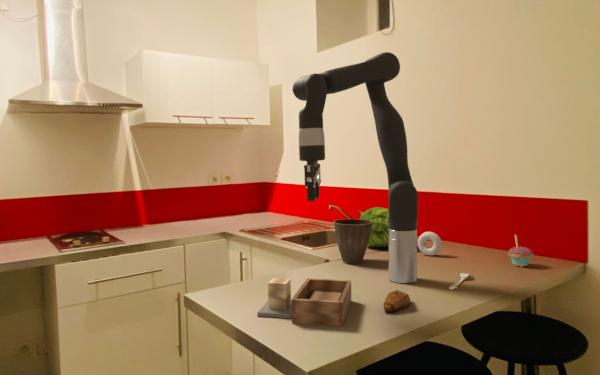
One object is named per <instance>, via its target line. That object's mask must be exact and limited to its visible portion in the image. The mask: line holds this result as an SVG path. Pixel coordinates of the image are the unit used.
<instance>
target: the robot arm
mask: <svg viewBox="0 0 600 375" xmlns="http://www.w3.org/2000/svg"><path fill="white" fill-rule="evenodd" d="M400 71H401V64H400V60H399V58H398V57H397V56H396V54H394V53H392V52H390V51H388V52H387V51H386V52H381V53H379V54H376V55H374V56H372V57H370V58H368V59H366V60H365V61H362V62H358V63H354V64H350V65H346V66H340V67H337V68H336V67H335V68H332V69H331V68H330V69H329V70H325V71H322V72H321V73H310V74H308V75H304V76H299V77H298V78H297V79H296V80H295V81H294V82H293V85H292V93H293V95H294V97H295V98H296V99H297V100H299V101H302V102H305V105H304V107H303V108H302V109H300V110H299V112H298V132H299V133H298V150H299V151H298V152H299V153H298V155H299V161H300V162H306V164H305V165H303V168H304V170H303V171H304V186H305V188H306V196H307V201H308V202H315V200H316V199H320V198H321V194H320V190H321V189H320V186H321V184H322V180H321V179H322V178H321V164H320V163H319V162H318V161H325V159H326V148H325V146H326V145H325V143H326V141H325V132H324V118H323V114H324V109H325V107H326V106H325V105H326V101H327V100H326V99H327V96H328V95H331V94H337V93H341V92H344V91H347V90H350V89H352V88H355V87H357V86H360V85H363V84H364V85H365V87H366V90H367V93H368V97H369V101H370V104H371V109H372V113H373V114H372V115H373V118H374V124H375V131H376V136H377V141H378V145H379V146H378V147H379V149H380V153H381V157H382V159H383V162H384V164H385V168H386V172H387V174H386V175H387V186H388V209H389V246H388V271H387V272H388V273H387V274H388V281H390V282H393V283H399V284H410V283H411V284H412V283H417V282H418V250H417V249H418V239H417V238H418V234H417V233H418V219H419V218H418V216H419V215H418V213H419V212H418V211H419V210H418V208H419V196H418V195H419V193H418V191H417V188H416V187H415V186H414V185H415V184H414V182H413V179H412V175H411V171H410V168H409V162H408V142H407V141H408V140H407V134H406V133H407V132H406V127H405V123H404V120H403V117H402V116H401V114H400V112H399V111H398V110H397V109H396V108H395V107H394V105H393V104H392V103H391V102H390V99H389V97H388V95H387V92H386V86H385V83H387V82H391V81H393V80H394V79H395V78H397V76H398V75H399V74H400Z"/></svg>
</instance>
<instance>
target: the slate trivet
mask: <svg viewBox="0 0 600 375" xmlns="http://www.w3.org/2000/svg"><path fill="white" fill-rule="evenodd" d="M256 313H257V317H266V318H277V319H278V318H280V319H281V318H282V319H292V311H291V304H290V305H289V307H288V308H287V309H286V310H285V309H270V308H268V300H267V302H265V303H264V305H262V307H260V308H259V310H258V311H257V312H256Z"/></svg>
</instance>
